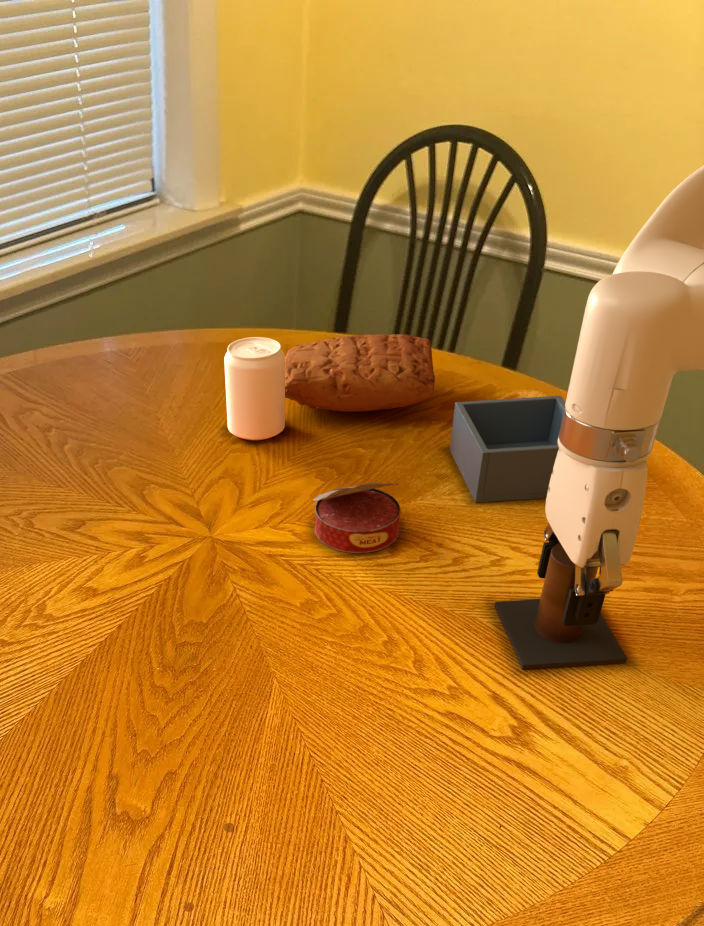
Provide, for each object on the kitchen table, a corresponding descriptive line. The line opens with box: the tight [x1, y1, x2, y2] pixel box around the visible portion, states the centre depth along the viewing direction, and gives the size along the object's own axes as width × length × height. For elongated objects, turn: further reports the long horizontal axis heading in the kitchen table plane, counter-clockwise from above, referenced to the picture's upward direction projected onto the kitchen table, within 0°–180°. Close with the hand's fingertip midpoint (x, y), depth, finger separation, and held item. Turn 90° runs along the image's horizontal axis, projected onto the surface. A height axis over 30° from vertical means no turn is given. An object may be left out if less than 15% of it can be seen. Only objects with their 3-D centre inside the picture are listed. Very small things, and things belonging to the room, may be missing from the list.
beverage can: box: [223, 336, 286, 441], centre depth 122 cm, size 8×8×12 cm
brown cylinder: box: [535, 543, 599, 643], centre depth 86 cm, size 4×4×9 cm
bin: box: [449, 395, 566, 504], centre depth 111 cm, size 14×14×7 cm
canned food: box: [313, 482, 402, 554], centre depth 103 cm, size 11×10×10 cm
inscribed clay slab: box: [285, 333, 436, 412], centre depth 129 cm, size 22×17×8 cm
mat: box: [493, 598, 628, 670], centre depth 89 cm, size 10×10×1 cm
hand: (566, 597), depth 86 cm, fingers open, 6 cm apart
